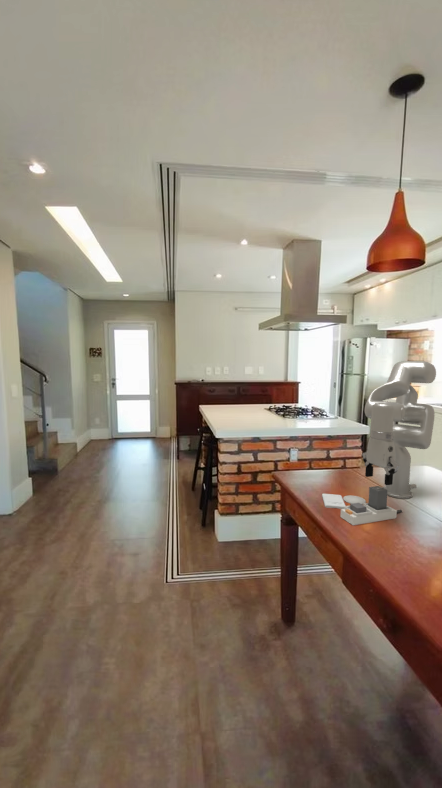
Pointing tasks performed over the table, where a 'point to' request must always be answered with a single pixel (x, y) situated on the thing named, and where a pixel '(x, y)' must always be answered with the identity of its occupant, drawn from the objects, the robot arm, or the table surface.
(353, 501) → the coaster
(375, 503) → the charger
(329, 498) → the external hard drive
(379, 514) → the power strip
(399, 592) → the table surface
